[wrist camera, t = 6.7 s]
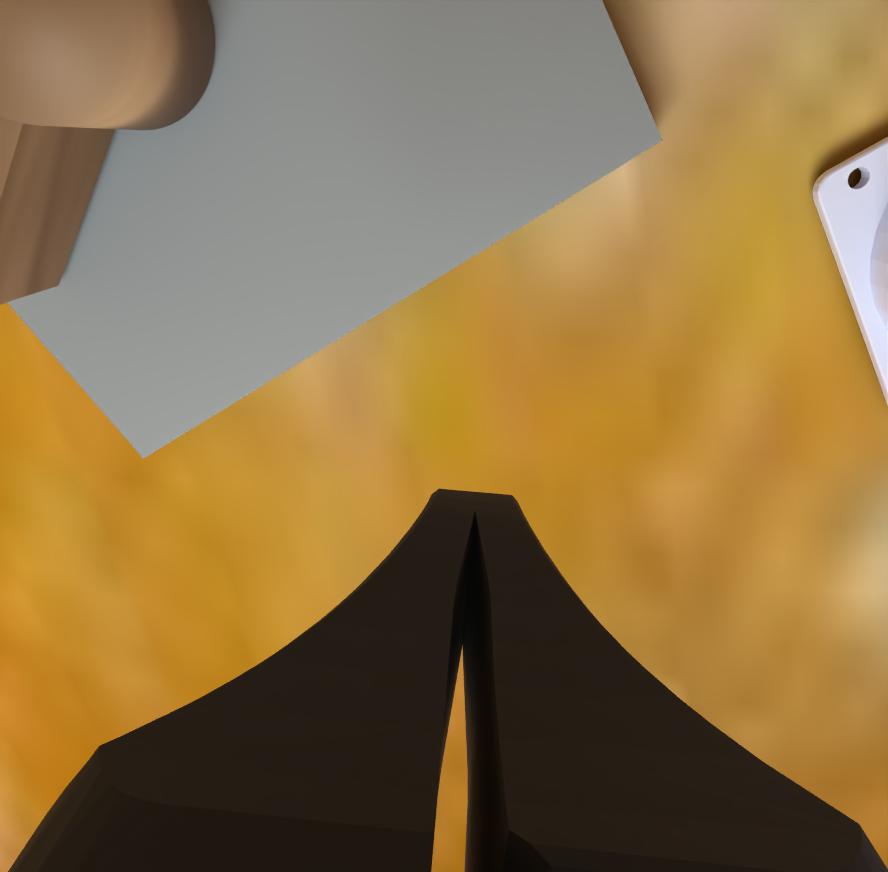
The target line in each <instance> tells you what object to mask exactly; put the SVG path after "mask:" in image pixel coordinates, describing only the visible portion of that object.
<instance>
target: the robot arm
mask: <svg viewBox="0 0 888 872" xmlns="http://www.w3.org/2000/svg"><path fill="white" fill-rule="evenodd" d="M856 168H859V169H860V171H861V179H860V181H859V183H858V184H857V185H856V186H854V187H852V188H851V187H850V186H849V185H848V177H849V175H850V173H851V172H852V171H853V170H854V169H856ZM812 193H813V199H814V202H815V205H816V208H817V211H818V213H819V216H820V219H821V222H822V224H823V227H824V230H825V233H826V236H827V238H828V241H829V244H830V247H831V249H832V252H833V255H834V258H835V260H836V263H837V266H838V269H839V272H840V274H841V277H842V280H843V283H844V285H845V288H846V291H847V294H848V297H849V299H850V302H851V305H852V308H853V310H854V313H855V316H856V319H857V321H858V324H859V327H860V330H861V333H862V335H863V338H864V341H865V344H866V346H867V349H868V352H869V355H870V357H871V360H872V363H873V366H874V369H875V371H876V374H877V377H878V380H879V382H880V385H881V388H882V391H883V394H884V396H885V399H886V402H887V405H888V137H886V138H884V139H882V140H881V141H879V142H877V143H875V144H874V145H872V146H870V147H868V148H866V149H865V150H863V151H861V152H859V153H857V154H856V155H854V156H852V157H850V158H848V159H847V160H845V161H843V162H841V163H839V164H838V165H836V166H834V167H832V168H830V169H829V170H827V171H825V172H824V173H823V174H822V175H820V176H819V177H818V179H817V180H816V182H815V183H814V187H813V191H812ZM462 644H463V668H464V693H465V717H466V740H467V764H468V810H467V831H466V852H465V872H888V869H887V867H886V866H885V864H884V863H883V861H882V860H881V858H880V856H879V855H878V853H877V852H876V850H875V849H874V847H873V845H872V844H871V842H870V841H869V839H868V837H867V836H866V834H865V833H864V831H863V829H862V828H861V826H860V825H859V824H858V823H857V822H855V821H854V820H852V819H850V818H849V817H847V816H846V815H844V814H843V813H841V812H840V811H838V810H837V809H835V808H834V807H832V806H830V805H829V804H827V803H826V802H824V801H823V800H821V799H820V798H818V797H817V796H815V795H813V794H812V793H810V792H809V791H807V790H806V789H804V788H803V787H801V786H800V785H798V784H796V783H795V782H793V781H792V780H790V779H789V778H787V777H786V776H784V775H783V774H781V773H779V772H778V771H776V770H775V769H773V768H772V767H770V766H769V765H767V764H766V763H764V762H763V761H761V760H760V759H758V758H757V757H756V756H754V755H753V754H751V753H750V752H749V751H747V750H746V749H745V748H743V747H742V746H741V745H739V744H738V743H737V742H735V741H734V740H733V739H731V738H730V737H728V736H727V735H726V734H724V733H723V732H722V731H720V730H719V729H718V728H716V727H715V726H714V725H712V724H711V723H710V722H708V721H707V720H706V719H704V718H703V717H702V716H701V715H699V714H698V713H697V712H696V711H694V710H693V709H692V708H691V707H689V706H688V705H687V704H686V703H684V702H683V701H682V700H681V699H680V698H678V697H677V696H676V695H675V694H674V693H673V692H671V691H670V690H669V689H668V688H667V687H666V686H665V685H663V684H662V683H661V682H660V681H659V680H658V679H657V678H655V677H654V676H653V675H652V674H651V673H650V672H649V671H647V670H646V669H645V668H644V667H643V666H642V665H641V664H640V663H639V662H638V661H637V660H636V659H635V658H633V657H632V656H631V655H630V654H629V653H628V652H627V651H626V650H625V649H624V648H623V647H622V646H621V645H620V644H619V643H618V642H617V641H616V639H615V638H614V637H613V636H612V635H611V634H610V633H609V632H608V631H607V630H606V629H605V628H604V627H603V626H602V625H601V624H600V622H599V621H598V620H597V619H596V618H595V617H594V616H593V614H592V613H591V612H590V611H589V610H588V608H587V607H586V606H585V605H584V603H583V602H582V601H581V600H580V598H579V597H578V596H577V595H576V593H575V592H574V591H573V590H572V588H571V587H570V586H569V584H568V583H567V581H566V580H565V579H564V577H563V576H562V575H561V573H560V572H559V570H558V569H557V567H556V566H555V564H554V563H553V562H552V560H551V559H550V557H549V556H548V554H547V553H546V551H545V550H544V548H543V547H542V545H541V543H540V542H539V540H538V539H537V537H536V535H535V533H534V532H533V530H532V528H531V527H530V525H529V523H528V521H527V520H526V518H525V516H524V514H523V512H522V510H521V508H520V506H519V504H518V502H517V500H516V499H515V498H514V497H513V496H512V495H504V494H493V493H481V492H470V491H458V490H447V489H438V490H437V491H436V492H434V493H433V494H432V495H431V497H430V499H429V501H428V503H427V505H426V506H425V508H424V509H423V511H422V512H421V514H420V515H419V517H418V518H417V520H416V521H415V522H414V524H413V525H412V527H411V528H410V529H409V531H408V532H407V533H406V534H405V535H404V537H403V538H402V539H401V540H400V542H399V543H398V544H397V545H396V547H395V548H394V549H393V550H392V551H391V553H390V554H389V555H388V556H387V557H386V558H385V559H384V560H383V561H382V562H381V563H380V565H379V566H378V567H377V568H376V569H375V570H374V571H373V572H372V573H371V574H370V575H369V576H368V577H367V578H366V579H365V580H364V581H363V582H362V583H361V584H360V585H359V586H358V587H357V588H356V589H355V590H354V591H353V592H352V593H351V594H350V595H349V596H348V597H347V598H345V599H344V600H343V601H342V602H341V603H340V604H339V605H338V606H336V607H335V608H334V609H333V610H332V611H330V612H329V613H328V614H327V615H326V616H325V617H323V618H322V619H321V620H320V621H318V622H317V623H316V624H314V625H313V626H312V627H310V628H309V629H308V630H306V631H305V632H304V633H302V634H301V635H300V636H298V637H297V638H296V639H294V640H293V641H292V642H291V643H289V644H288V645H286V646H285V647H284V648H282V649H281V650H279V651H278V652H276V653H275V654H273V655H272V656H270V657H269V658H267V659H266V660H264V661H263V662H261V663H260V664H258V665H256V666H255V667H253V668H251V669H250V670H248V671H246V672H245V673H243V674H241V675H240V676H238V677H237V678H235V679H233V680H231V681H230V682H228V683H226V684H224V685H222V686H221V687H219V688H217V689H215V690H214V691H212V692H210V693H208V694H206V695H205V696H203V697H201V698H199V699H197V700H195V701H193V702H191V703H189V704H187V705H185V706H183V707H181V708H179V709H177V710H175V711H173V712H171V713H169V714H167V715H165V716H162V717H160V718H158V719H156V720H154V721H152V722H150V723H148V724H146V725H144V726H142V727H140V728H137V729H135V730H133V731H131V732H129V733H127V734H125V735H123V736H121V737H119V738H116V739H114V740H112V741H109V742H107V743H105V744H103V745H100V746H99V747H98V748H97V750H96V751H95V752H94V754H93V755H92V757H91V758H90V759H89V761H88V762H87V763H86V764H85V765H84V767H83V768H82V769H81V770H80V771H79V773H78V774H77V775H76V776H75V777H74V779H73V780H72V781H71V782H70V783H69V785H68V786H67V787H66V788H65V790H64V791H63V792H62V794H61V795H60V796H59V798H58V799H57V800H56V802H55V803H54V805H53V806H52V807H51V809H50V810H49V811H48V813H47V814H46V816H45V817H44V819H43V820H42V822H41V823H40V825H39V826H38V828H37V829H36V831H35V832H34V834H33V835H32V837H31V838H30V840H29V841H28V843H27V844H26V846H25V847H24V849H23V850H22V852H21V853H20V855H19V856H18V858H17V859H16V861H15V862H14V864H13V865H12V867H11V868H10V870H9V871H8V872H431V867H432V855H433V843H434V831H435V819H436V807H437V796H438V789H439V781H440V774H441V767H442V761H443V755H444V749H445V743H446V737H447V732H448V726H449V720H450V714H451V708H452V703H453V697H454V691H455V685H456V679H457V673H458V668H459V662H460V656H461V650H462Z"/></svg>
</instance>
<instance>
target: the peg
mask: <svg viewBox="0 0 888 872" xmlns="http://www.w3.org/2000/svg"><path fill="white" fill-rule="evenodd" d="M214 54H215V36H214V28H213V21H212V17H211V13H210V9H209V5H208V3H207V0H0V304H3V303H6V302H9V301H12V300H15V299H19V298H22V297H25V296H28V295H31V294H34V293H37V292H40V291H44V290H47V289H50V288H53V287H56V286H59V284H60V281H61V278H62V275H63V273H64V270H65V267H66V264H67V262H68V259H69V256H70V253H71V250H72V248H73V245H74V242H75V239H76V237H77V234H78V231H79V228H80V225H81V223H82V220H83V217H84V214H85V212H86V209H87V206H88V203H89V201H90V198H91V195H92V192H93V189H94V187H95V184H96V181H97V178H98V176H99V173H100V170H101V167H102V164H103V162H104V159H105V156H106V153H107V151H108V148H109V145H110V142H111V139H112V137H113V134H114V131H115V129H122V130H155V129H160V128H164V127H167V126H169V125H172V124H174V123H175V122H177V121H179V120H181V119H182V118H183V117H185V116H186V115H187V114H188V113H189V112H190V111H191V110H192V109H193V108H194V107H195V106H196V105H197V103H198V102H199V100H200V99H201V97H202V96H203V94H204V92H205V90H206V88H207V86H208V83H209V80H210V77H211V74H212V69H213V64H214Z"/></svg>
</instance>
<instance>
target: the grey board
mask: <svg viewBox="0 0 888 872" xmlns="http://www.w3.org/2000/svg"><path fill="white" fill-rule="evenodd" d="M207 3H208V5H209V9H210V13H211V17H212V21H213V28H214V36H215V54H214V64H213V69H212V74H211V77H210V80H209V83H208V86H207V88H206V90H205V92H204V94H203V96H202V97H201V99H200V100H199V102H198V103H197V105H196V106H195V107H194V108H193V109H192V110H191V111H190V112H189V113H188V114H187V115H186V116H185V117H183V118H182V119H181V120H179V121H177V122H175V123H174V124H172V125H169V126H167V127H164V128H160V129H155V130H122V129H115V131H114V134H113V137H112V139H111V142H110V145H109V148H108V151H107V153H106V156H105V159H104V162H103V164H102V167H101V170H100V173H99V176H98V178H97V181H96V184H95V187H94V189H93V192H92V195H91V198H90V201H89V203H88V206H87V209H86V212H85V214H84V217H83V220H82V223H81V225H80V228H79V231H78V234H77V237H76V239H75V242H74V245H73V248H72V250H71V253H70V256H69V259H68V262H67V264H66V267H65V270H64V273H63V275H62V278H61V281H60V284H59V286H56V287H53V288H50V289H47V290H44V291H40V292H37V293H34V294H31V295H28V296H25V297H22V298H19V299H15V300H12V301H9V302H7V303H8V304H9V305H10V306H11V308H12V309H13V310H14V311H15V312H16V313H17V314H18V316H19V317H20V318H21V319H22V320H23V321H24V322H25V324H26V325H27V326H28V327H29V328H30V329H31V330H32V332H33V333H34V334H35V335H36V336H37V337H38V338H39V340H40V341H41V342H42V343H43V344H44V345H45V346H46V348H47V349H48V350H49V351H50V352H51V353H52V354H53V356H54V357H55V358H56V359H57V360H58V361H59V362H60V364H61V365H62V366H63V367H64V368H65V369H66V370H67V372H68V373H69V374H70V375H71V376H72V377H73V378H74V380H75V381H76V382H77V383H78V384H79V385H80V386H81V388H82V389H83V390H84V391H85V392H86V393H87V394H88V396H89V397H90V398H91V399H92V400H93V401H94V402H95V404H96V405H97V406H98V407H99V408H100V409H101V410H102V412H103V413H104V414H105V415H106V416H107V417H108V418H109V420H110V421H111V422H112V423H113V424H114V425H115V426H116V428H117V429H118V430H119V431H120V432H121V433H122V434H123V436H124V437H125V438H126V439H127V440H128V441H129V442H130V444H131V445H132V446H133V447H134V448H135V449H136V450H137V452H138V453H139V454H140V455H141V456H142V457H143V458H145V457H147V456H148V455H150V454H152V453H153V452H155V451H156V450H158V449H160V448H161V447H163V446H165V445H166V444H168V443H169V442H171V441H173V440H174V439H176V438H178V437H179V436H181V435H183V434H184V433H186V432H187V431H189V430H191V429H192V428H194V427H196V426H197V425H199V424H200V423H202V422H204V421H205V420H207V419H209V418H210V417H212V416H214V415H215V414H217V413H218V412H220V411H222V410H223V409H225V408H227V407H228V406H230V405H231V404H233V403H235V402H236V401H238V400H240V399H241V398H243V397H245V396H246V395H248V394H249V393H251V392H253V391H254V390H256V389H258V388H259V387H261V386H262V385H264V384H266V383H267V382H269V381H271V380H272V379H274V378H276V377H277V376H279V375H280V374H282V373H284V372H285V371H287V370H289V369H290V368H292V367H293V366H295V365H297V364H298V363H300V362H302V361H303V360H305V359H306V358H308V357H310V356H311V355H313V354H315V353H316V352H318V351H320V350H321V349H323V348H324V347H326V346H328V345H329V344H331V343H333V342H334V341H336V340H337V339H339V338H341V337H342V336H344V335H346V334H347V333H349V332H351V331H352V330H354V329H355V328H357V327H359V326H360V325H362V324H364V323H365V322H367V321H368V320H370V319H372V318H373V317H375V316H377V315H378V314H380V313H382V312H383V311H385V310H386V309H388V308H390V307H391V306H393V305H395V304H396V303H398V302H399V301H401V300H403V299H404V298H406V297H408V296H409V295H411V294H412V293H414V292H416V291H417V290H419V289H421V288H422V287H424V286H426V285H427V284H429V283H430V282H432V281H434V280H435V279H437V278H439V277H440V276H442V275H443V274H445V273H447V272H448V271H450V270H452V269H453V268H455V267H457V266H458V265H460V264H461V263H463V262H465V261H466V260H468V259H470V258H471V257H473V256H474V255H476V254H478V253H479V252H481V251H483V250H484V249H486V248H488V247H489V246H491V245H492V244H494V243H496V242H497V241H499V240H501V239H502V238H504V237H505V236H507V235H509V234H510V233H512V232H514V231H515V230H517V229H519V228H520V227H522V226H523V225H525V224H527V223H528V222H530V221H532V220H533V219H535V218H536V217H538V216H540V215H541V214H543V213H545V212H546V211H548V210H549V209H551V208H553V207H554V206H556V205H558V204H559V203H561V202H563V201H564V200H566V199H567V198H569V197H571V196H572V195H574V194H576V193H577V192H579V191H580V190H582V189H584V188H585V187H587V186H589V185H590V184H592V183H594V182H595V181H597V180H598V179H600V178H602V177H603V176H605V175H607V174H608V173H610V172H611V171H613V170H615V169H616V168H618V167H620V166H621V165H623V164H625V163H626V162H628V161H629V160H631V159H633V158H634V157H636V156H638V155H639V154H641V153H642V152H644V151H646V150H647V149H649V148H651V147H652V146H654V145H656V144H657V143H659V142H660V141H662V137H661V135H660V133H659V130H658V128H657V126H656V124H655V121H654V119H653V117H652V114H651V112H650V110H649V107H648V105H647V103H646V100H645V98H644V96H643V93H642V91H641V89H640V87H639V84H638V82H637V80H636V77H635V75H634V73H633V70H632V68H631V66H630V63H629V61H628V59H627V56H626V54H625V52H624V50H623V47H622V45H621V43H620V40H619V38H618V36H617V33H616V31H615V29H614V26H613V24H612V22H611V19H610V17H609V15H608V13H607V10H606V8H605V6H604V3H603V1H602V0H207Z"/></svg>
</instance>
